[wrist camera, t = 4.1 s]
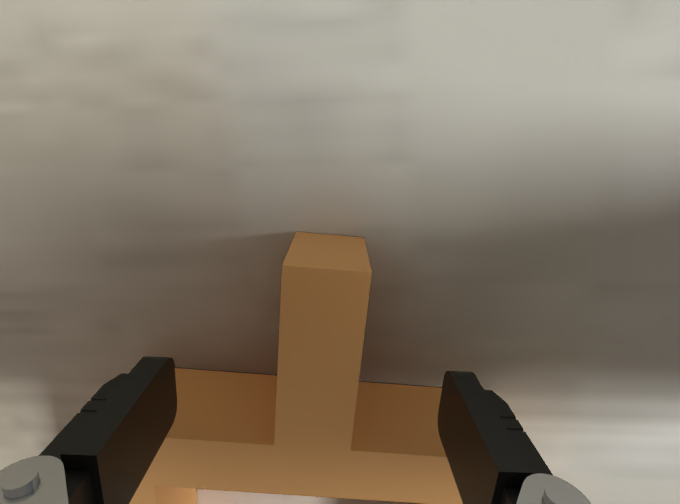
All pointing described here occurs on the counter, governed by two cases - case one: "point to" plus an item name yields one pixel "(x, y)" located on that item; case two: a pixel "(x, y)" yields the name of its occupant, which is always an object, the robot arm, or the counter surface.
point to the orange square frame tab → (306, 405)
